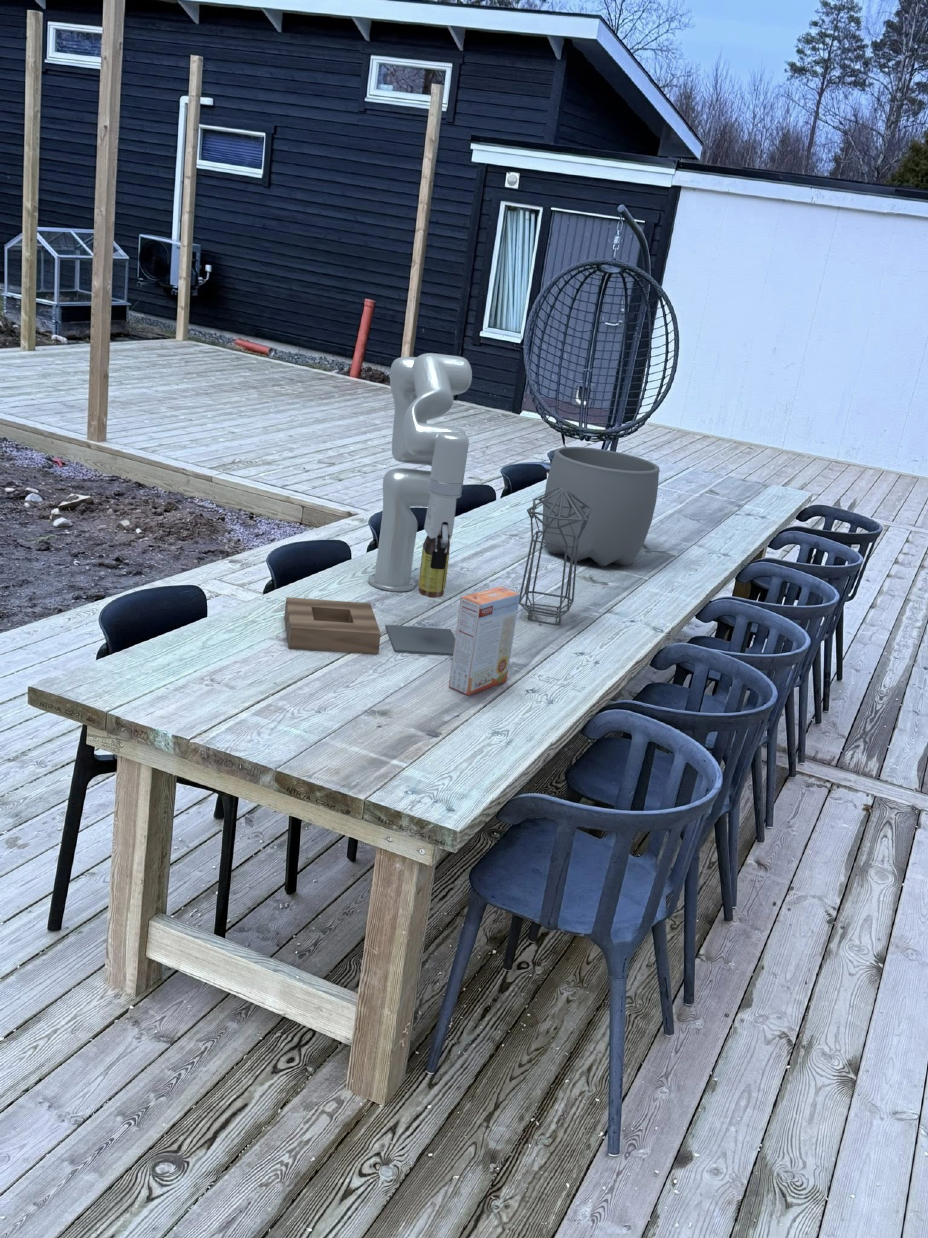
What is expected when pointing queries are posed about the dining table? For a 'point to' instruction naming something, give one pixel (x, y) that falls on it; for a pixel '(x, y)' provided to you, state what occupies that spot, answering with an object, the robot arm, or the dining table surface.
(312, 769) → the dining table surface
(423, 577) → the sauce bottle
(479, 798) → the dining table surface
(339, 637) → the holder block
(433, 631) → the rubber mat
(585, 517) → the geometric lantern
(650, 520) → the planter pot
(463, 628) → the cracker box
